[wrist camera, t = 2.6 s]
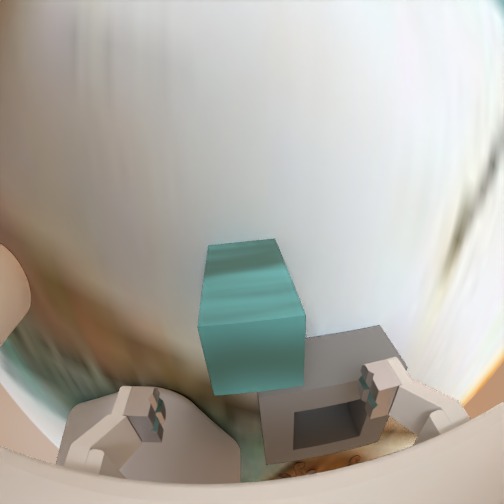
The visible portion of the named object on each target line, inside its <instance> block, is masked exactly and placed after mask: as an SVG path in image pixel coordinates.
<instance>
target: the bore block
mask: <svg viewBox="0 0 504 504" xmlns="http://www.w3.org/2000/svg"><path fill="white" fill-rule="evenodd" d="M392 357H397V358H398V359H399V361H400V362H401V364H402V365H403V367H404V368H405V370H407V366H406V364H405V362H404V361H403V359H402V358H401V356H400V355H399V353H398V352H397V350H396V349H395V347H394V346H393V344H392V343H391V341H390V340H389V338H388V337H387V335H386V334H385V332H384V331H383V329H382V328H381V326H380V325H378V326H373V327H368V328H363V329H358V330H353V331H347V332H342V333H336V334H330V335H324V336H318V337H311V338H305V360H304V383H303V386H297V387H291V388H284V389H276V390H269V391H260V392H258V401H259V410H260V419H261V427H262V435H263V443H264V450H265V458H266V465H268V464H276V463H284V462H290V461H297V460H303V459H308V458H314V457H319V456H324V455H328V454H333V453H337V452H341V451H346V450H350V449H353V448H357V447H361V446H365V445H368V444H372V443H375V442H378V440H379V438H380V436H381V434H382V431H383V429H384V427H385V425H386V422H387V420H388V418H389V414H388V415H385V416H381V417H377V418H373V419H370V418H369V416H368V414H367V412H366V409H365V405H366V402H364V401H362V400H361V398H360V396H359V392H358V380H359V378H360V377H361V376H362V374H361V372H360V371H361V367H362V365H364V364H368V363H372V362H376V361H380V360H385V359H388V358H392Z"/></svg>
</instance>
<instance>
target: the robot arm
mask: <svg viewBox="0 0 504 504" xmlns="http://www.w3.org/2000/svg"><path fill="white" fill-rule="evenodd" d="M360 372H361V374H362V376H361V377H360V378H359V380H358V392H359V396H360V398H361V400H362V401H364V402H366V405H365V409H366V412H367V414H368V416H369V418H370V419H373V418H377V417H381V416H385V415H388V414H389V416H390V417H391V418H393V419H394V420H395V421H397V422H398V423H400V424H401V425H402V426H404V427H405V428H407V429H408V430H410V431H411V432H412V433H414V434H415V435H417V436H418V437H417V439H416V441H415V443H414V444H413V446H411V447H408V448H406V449H403V450H400V451H397V452H394V453H391V454H388V455H385V456H382V457H379V458H376V459H372V460H369V461H365V462H362V463H358V464H354V465H350V466H346V467H342V468H338V469H334V470H329V471H324V472H319V473H314V474H309V475H303V476H297V477H290V478H283V479H276V480H267V481H257V482H245V483H227V484H179V483H161V482H149V481H139V480H131V479H126V477H125V476H124V475H123V474H122V473H121V472H120V471H119V470H120V468H121V467H122V466H123V465H124V464H125V463H126V462H127V460H128V459H129V458H130V457H131V456H132V455H133V454H134V452H135V451H136V450H137V449H138V448H139V447H140V445H141V444H142V442H158V443H162V438H163V432H164V429H163V427H162V424H163V423H164V422H165V419H166V408H165V404H164V402H163V400H162V399H160V398H159V396H160V392H159V390H158V388H157V387H138V386H122V387H121V388H120V389H119V392H118V395H117V398H116V401H115V404H114V407H113V410H112V413H111V415H107V416H106V417H104V418H103V419H102V420H101V421H99V422H98V423H97V424H96V425H94V426H93V427H92V428H91V429H89V430H88V431H87V432H86V433H85V434H83V435H82V436H81V437H79V438H78V439H77V440H76V441H74V442H73V443H72V444H71V446H70V449H69V452H68V455H67V458H66V460H65V463H64V466H59V465H56V464H52V463H48V462H45V461H42V460H39V459H36V458H32V457H29V456H26V455H24V454H21V453H18V452H15V451H12V450H10V449H8V448H5V447H1V446H0V504H504V402H502V403H500V404H499V405H497V406H495V407H494V408H492V409H490V410H488V411H487V412H485V413H483V414H481V415H479V416H478V417H476V418H474V419H472V420H471V418H470V417H469V416H468V414H467V412H466V411H465V409H464V408H463V407H462V405H461V404H460V402H459V401H458V400H456V399H454V398H452V397H449V396H447V395H445V394H443V393H441V392H439V391H437V390H434V389H432V388H430V387H428V386H426V385H424V384H422V383H420V382H418V381H414V382H413V380H412V379H411V377H410V376H409V374H408V373H407V371H406V370H405V368H404V367H403V365H402V364H401V362H400V361H399V359H398V358H397V357H392V358H388V359H385V360H380V361H376V362H372V363H368V364H364V365H362V367H361V371H360Z"/></svg>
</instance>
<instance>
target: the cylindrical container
mask: <svg viewBox="0 0 504 504" xmlns="http://www.w3.org/2000/svg"><path fill="white" fill-rule="evenodd" d="M30 305H31V292H30V286H29V283H28V280H27V277H26V275H25V273H24V270H23V269H22V267H21V265H20V263H19V262H18V261H17V259H16V258H15V257H14V255H13V254H12V253H11V252H10V251H9V250H8V249H7V248H5V247H4V246H3V245H1V244H0V347H1V345H2V344H3V343H4V341H5V340H6V339H7V337H8V336H9V335H10V334H11V332H12V331H13V330H14V329H15V327H16V326H17V325H18V324H19V322H20V321H21V320H22V319H23V317H24V316H25V315H26V314H27V313H28V311H29V309H30Z"/></svg>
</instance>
